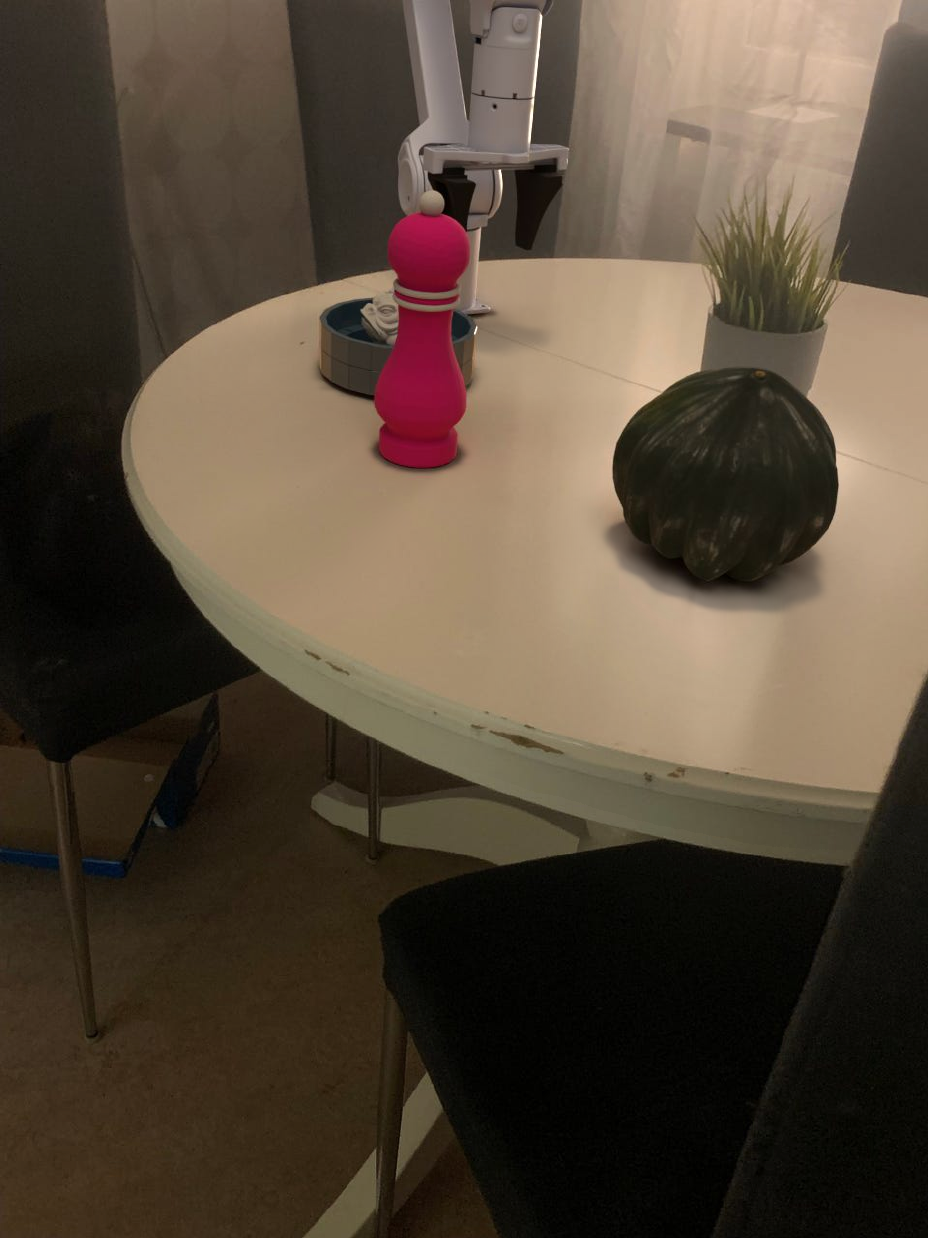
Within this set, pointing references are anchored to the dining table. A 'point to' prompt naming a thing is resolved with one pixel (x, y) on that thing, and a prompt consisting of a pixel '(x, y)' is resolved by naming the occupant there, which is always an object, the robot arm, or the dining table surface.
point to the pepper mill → (423, 340)
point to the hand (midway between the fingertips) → (490, 249)
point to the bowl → (375, 347)
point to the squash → (728, 473)
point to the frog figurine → (381, 319)
